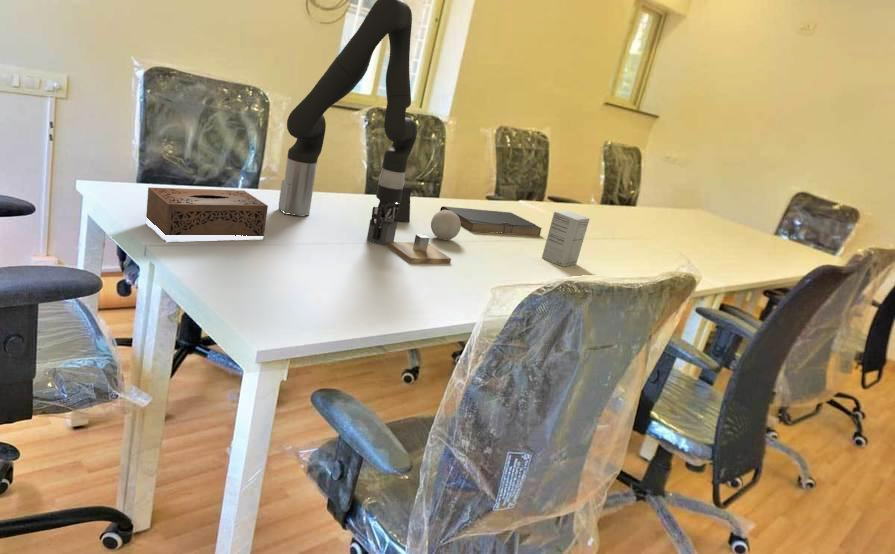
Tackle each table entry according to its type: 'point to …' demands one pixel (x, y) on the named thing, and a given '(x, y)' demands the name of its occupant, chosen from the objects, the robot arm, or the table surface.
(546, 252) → the supplement box
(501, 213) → the file folder
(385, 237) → the knob
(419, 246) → the matte grey cube
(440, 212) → the eye model
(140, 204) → the table surface
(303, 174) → the robot arm
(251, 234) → the tissue box cover
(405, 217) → the phone stand
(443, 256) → the base plate
